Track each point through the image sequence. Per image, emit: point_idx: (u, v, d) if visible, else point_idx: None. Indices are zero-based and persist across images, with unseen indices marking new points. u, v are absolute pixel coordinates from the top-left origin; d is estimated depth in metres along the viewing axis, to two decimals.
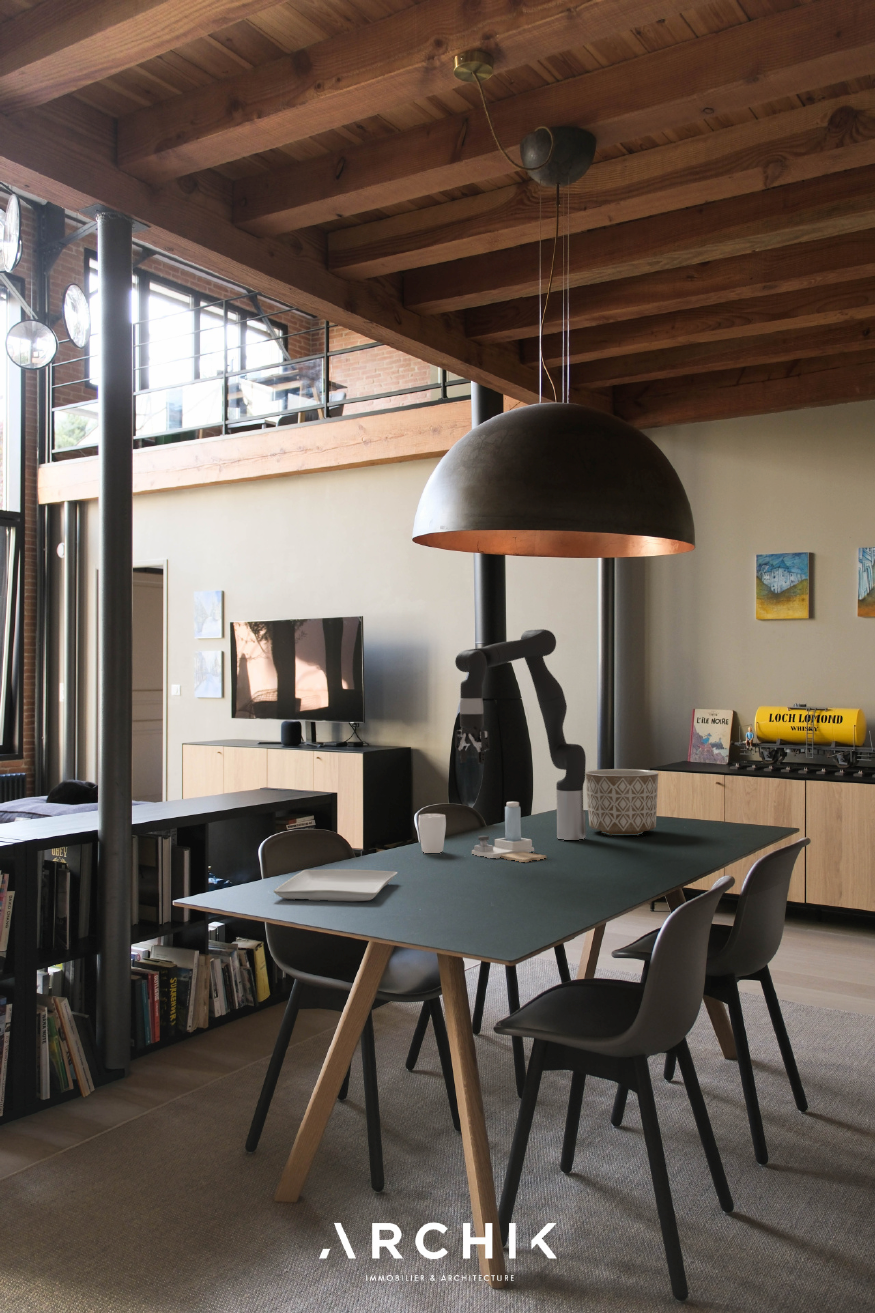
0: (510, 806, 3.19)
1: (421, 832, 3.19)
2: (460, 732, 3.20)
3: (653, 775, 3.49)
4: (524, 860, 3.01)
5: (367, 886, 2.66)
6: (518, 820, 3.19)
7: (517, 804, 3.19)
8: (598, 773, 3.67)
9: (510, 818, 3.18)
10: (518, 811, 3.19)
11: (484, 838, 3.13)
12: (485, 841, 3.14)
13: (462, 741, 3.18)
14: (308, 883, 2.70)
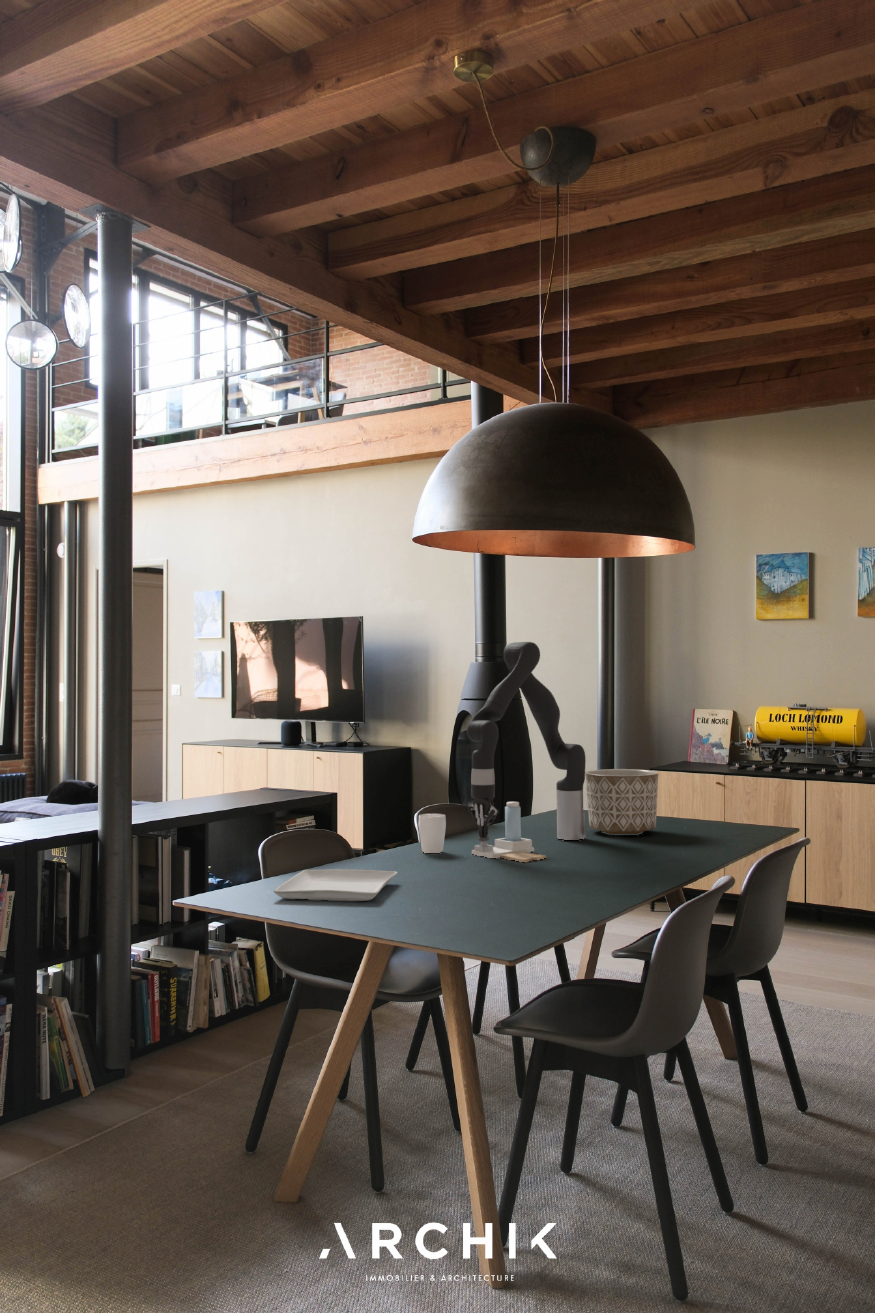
0: (510, 806, 3.19)
1: (421, 832, 3.19)
2: (472, 806, 3.18)
3: (653, 775, 3.49)
4: (524, 860, 3.01)
5: (367, 886, 2.66)
6: (518, 820, 3.19)
7: (517, 804, 3.19)
8: (598, 773, 3.67)
9: (510, 818, 3.18)
10: (518, 811, 3.19)
11: (484, 839, 3.13)
12: (485, 842, 3.14)
13: (477, 813, 3.15)
14: (308, 883, 2.70)
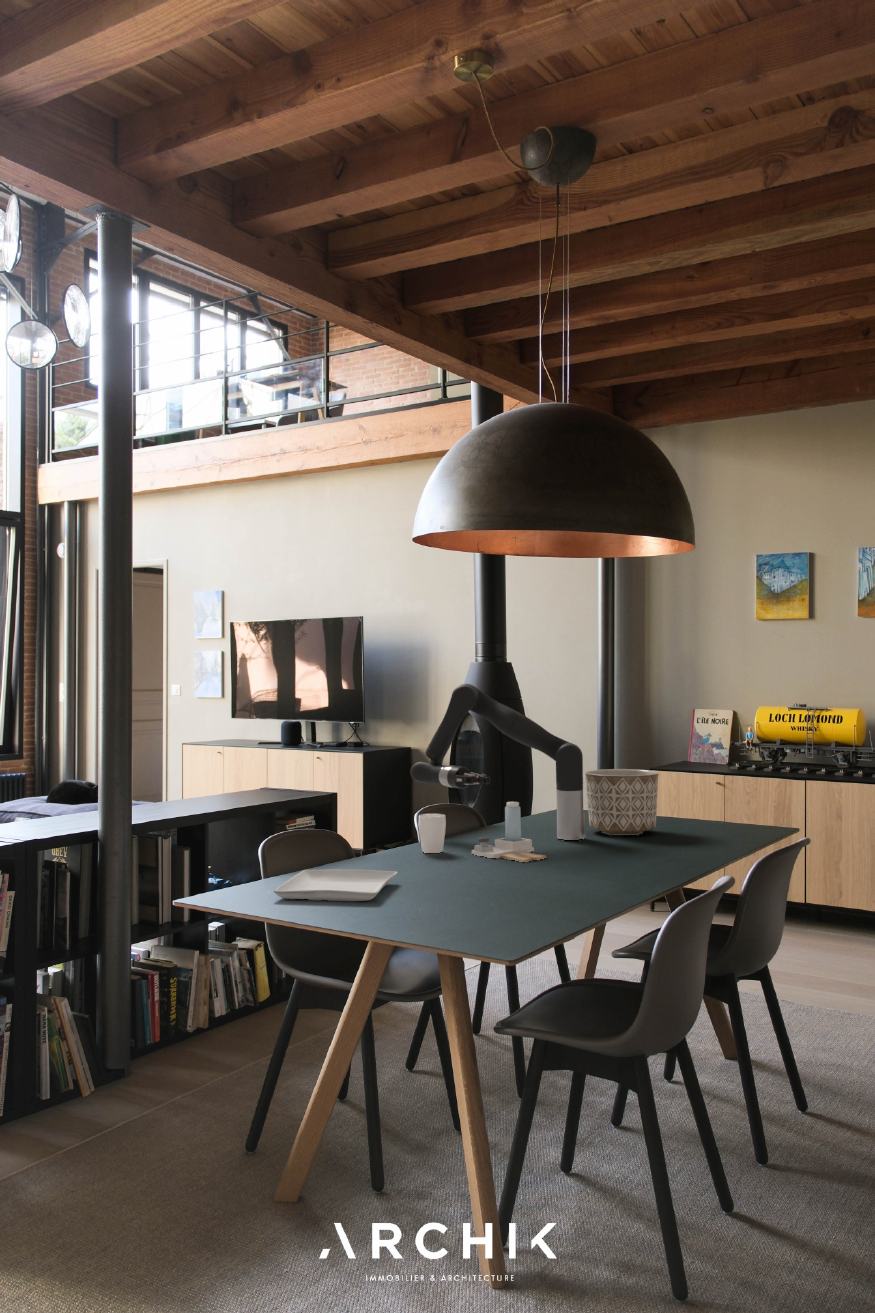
0: (510, 806, 3.19)
1: (421, 832, 3.19)
2: None
3: (653, 775, 3.49)
4: (524, 860, 3.01)
5: (367, 886, 2.66)
6: (518, 820, 3.19)
7: (517, 804, 3.19)
8: (598, 773, 3.67)
9: (510, 818, 3.18)
10: (518, 811, 3.19)
11: (484, 840, 3.13)
12: (485, 843, 3.14)
13: None
14: (308, 883, 2.70)
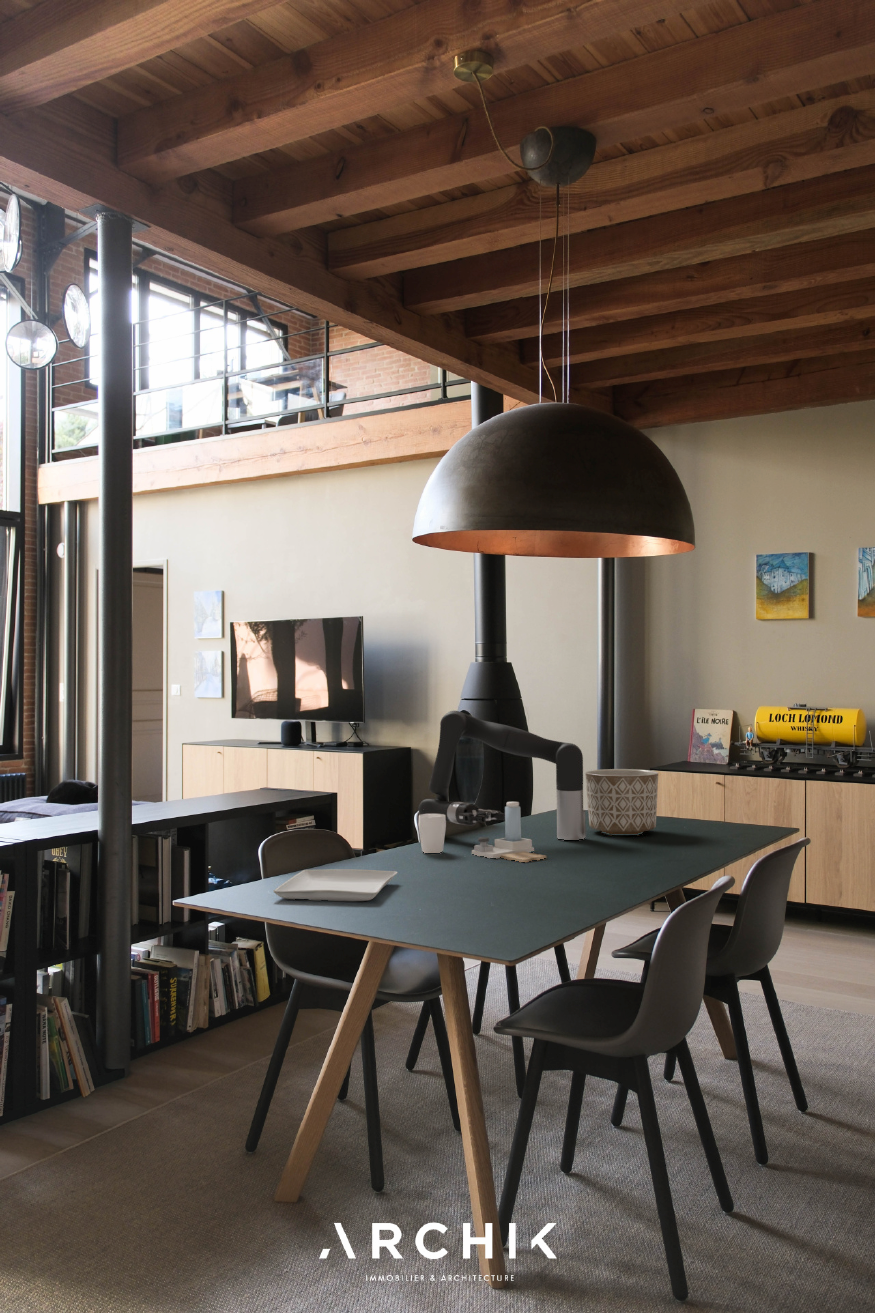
0: (510, 806, 3.19)
1: (421, 832, 3.19)
2: (486, 815, 3.38)
3: (653, 775, 3.49)
4: (524, 860, 3.01)
5: (367, 886, 2.66)
6: (518, 820, 3.19)
7: (517, 804, 3.19)
8: (598, 773, 3.67)
9: (509, 818, 3.18)
10: (518, 811, 3.19)
11: (484, 840, 3.13)
12: (485, 843, 3.14)
13: None
14: (308, 883, 2.70)
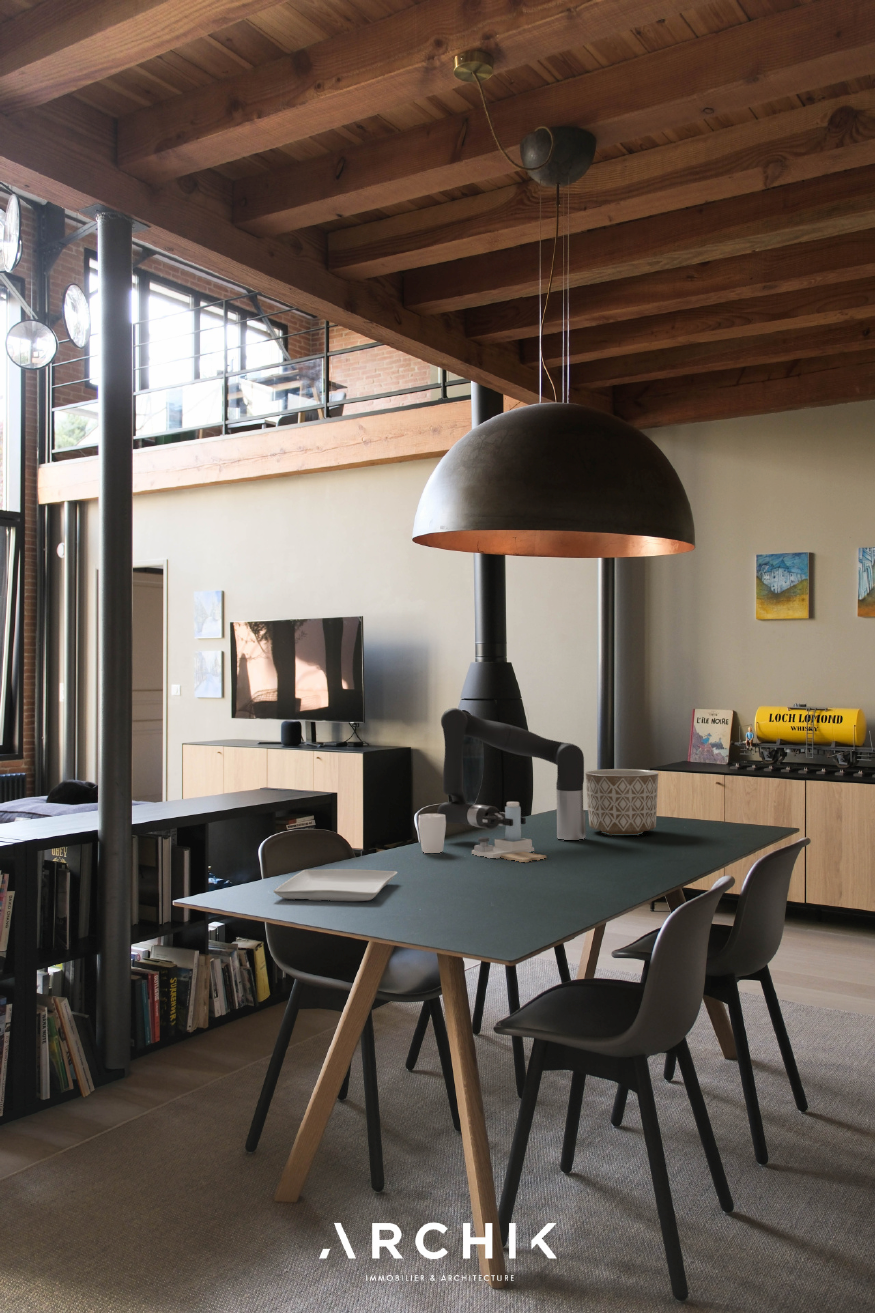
0: (510, 806, 3.19)
1: (421, 832, 3.19)
2: None
3: (653, 775, 3.49)
4: (524, 860, 3.01)
5: (367, 886, 2.66)
6: (518, 820, 3.19)
7: (517, 804, 3.19)
8: (598, 773, 3.67)
9: (510, 818, 3.18)
10: (518, 811, 3.19)
11: (484, 840, 3.13)
12: (485, 843, 3.14)
13: None
14: (308, 883, 2.70)
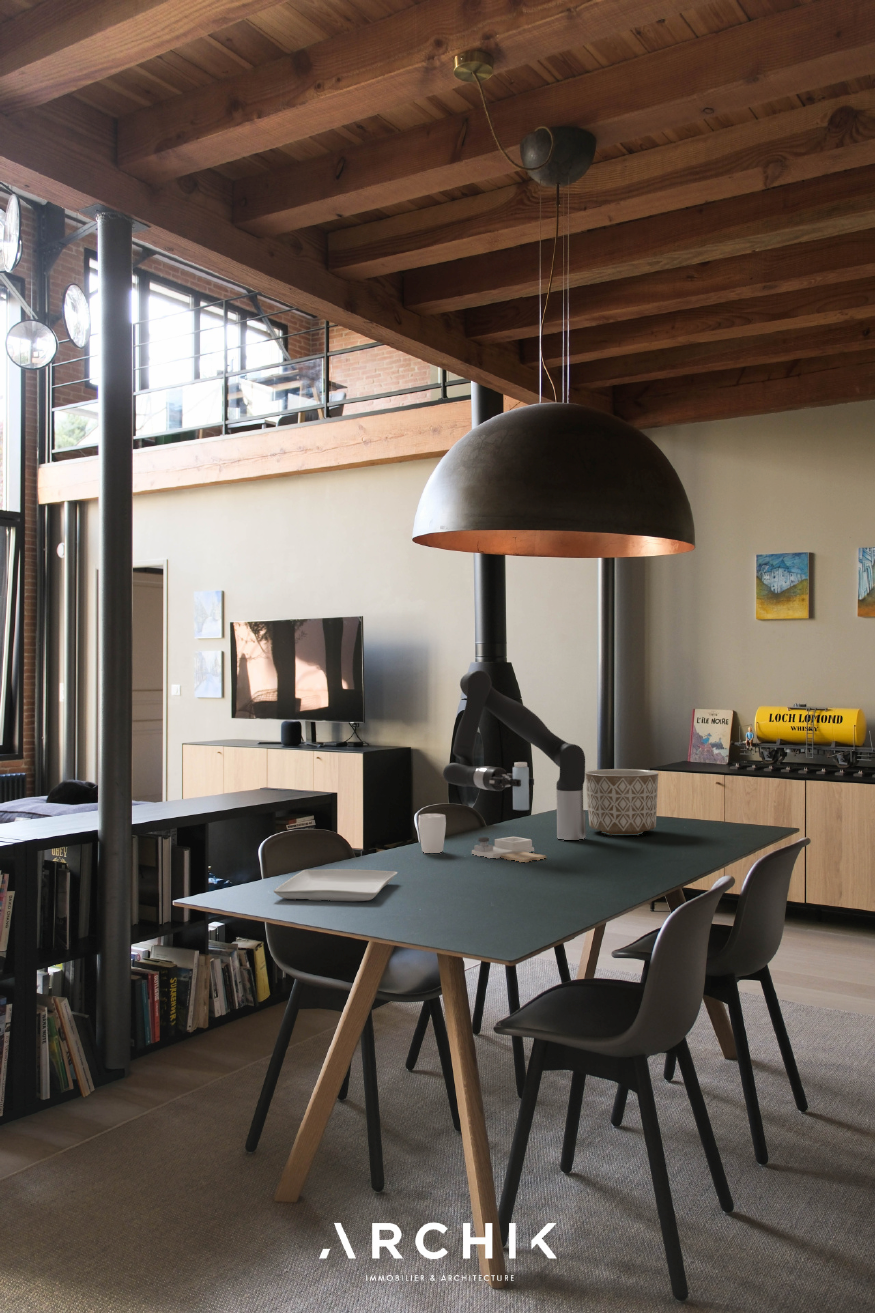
0: (518, 766, 3.07)
1: (421, 832, 3.19)
2: None
3: (653, 775, 3.49)
4: (524, 860, 3.01)
5: (367, 886, 2.66)
6: (526, 781, 3.07)
7: (525, 764, 3.08)
8: (598, 773, 3.67)
9: None
10: (526, 771, 3.07)
11: (484, 840, 3.13)
12: (485, 843, 3.14)
13: None
14: (308, 883, 2.70)
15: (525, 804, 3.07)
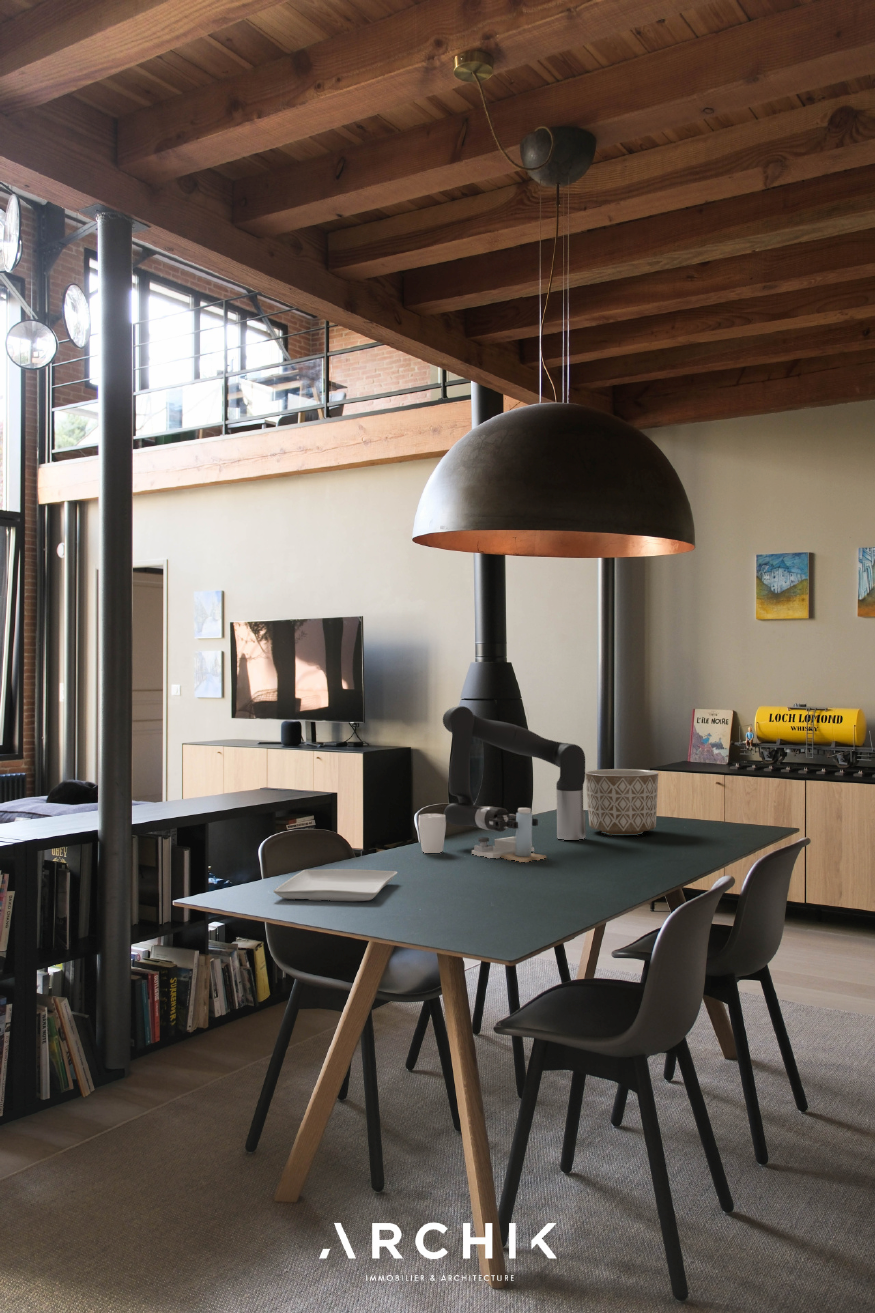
0: (522, 812, 3.07)
1: (421, 832, 3.19)
2: None
3: (653, 775, 3.49)
4: (524, 860, 3.01)
5: (367, 886, 2.66)
6: (529, 827, 3.06)
7: (529, 810, 3.07)
8: (598, 773, 3.67)
9: (521, 825, 3.06)
10: (530, 818, 3.07)
11: (484, 840, 3.13)
12: (485, 843, 3.14)
13: None
14: (308, 883, 2.70)
15: (528, 850, 3.06)
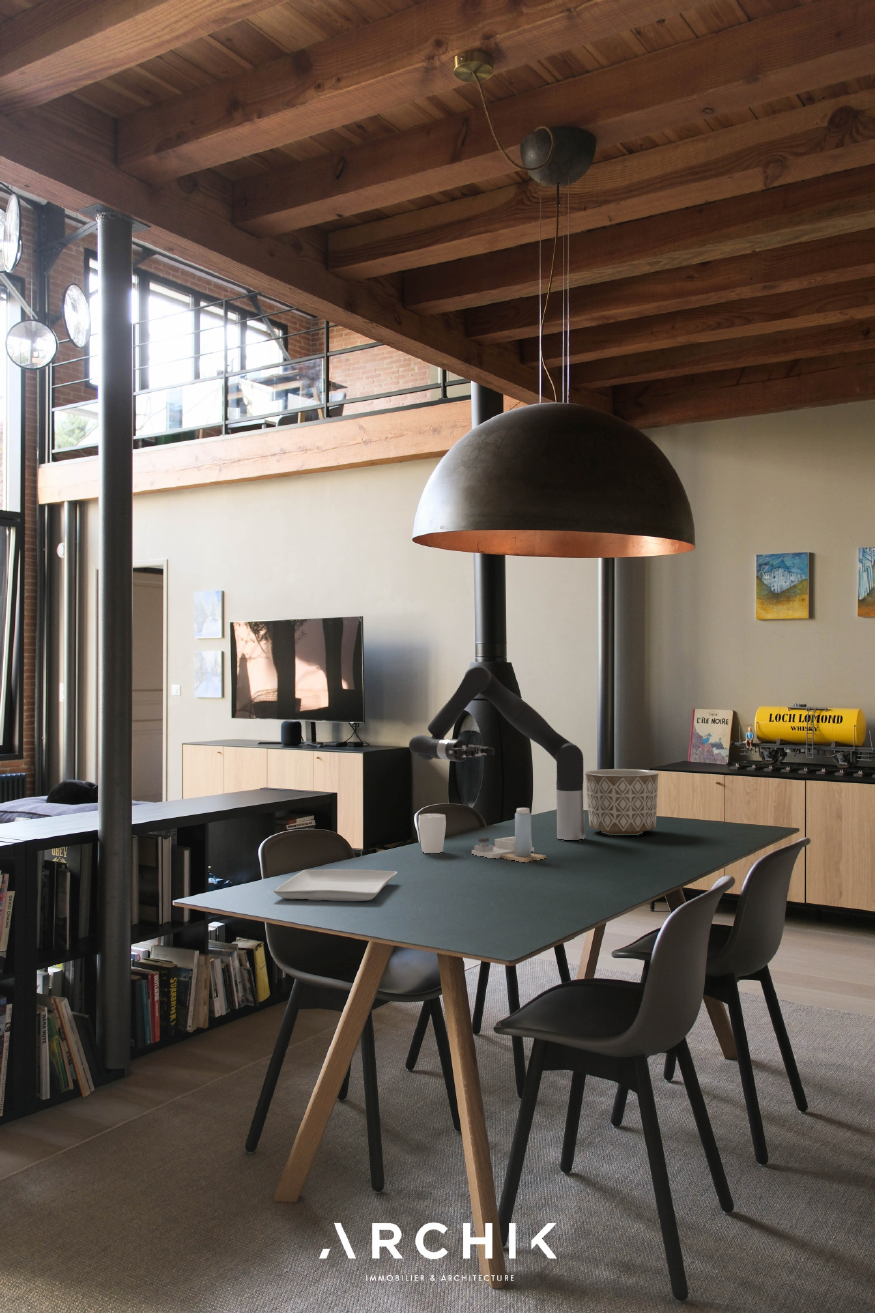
0: (520, 813, 3.06)
1: (421, 832, 3.19)
2: None
3: (653, 775, 3.49)
4: (524, 860, 3.01)
5: (367, 886, 2.66)
6: (528, 827, 3.06)
7: (527, 811, 3.07)
8: (598, 773, 3.67)
9: (519, 825, 3.06)
10: (528, 818, 3.06)
11: (484, 840, 3.13)
12: (485, 843, 3.14)
13: (476, 755, 3.33)
14: (308, 883, 2.70)
15: (527, 850, 3.06)
